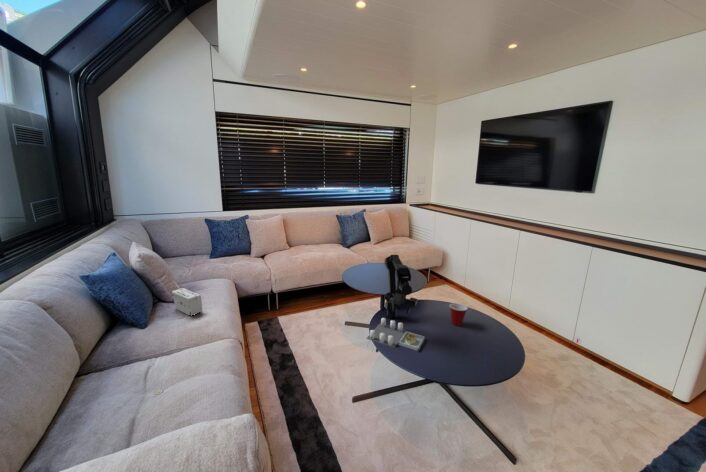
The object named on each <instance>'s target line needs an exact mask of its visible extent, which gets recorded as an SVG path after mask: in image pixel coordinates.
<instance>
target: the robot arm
mask: <svg viewBox="0 0 706 472" xmlns="http://www.w3.org/2000/svg"><path fill="white" fill-rule="evenodd" d="M384 265H385V269H386V270H387V272H388V274H387V276H388V277H387V278H388V292H386V293H385V294H384V298H383V299H384V300H385V303H384V308H385V309H386V311H387V312H386V315H385V317H384V318H386V319H387V318H388V319H389V320H396V318H398V314H397V310H399V309H400V308H401V305H402V304H405V303H407V310H406V316H407V315H408V314H409V312H410V311H411V309H412V308H414V307H416V306H417V304H418V301H419V300H418V299H417V298H415V297H410V298H407V296H409V295H411V293H412V291H413V287H412V286H411V285H410V283H409V282H411V281H412V274H411V273H412V272H411V270H410V269H409V267H408V266H407V265H405V264H403V262H402V260H401V259H400V256H399V255H398V254H391V255H388V256H387V257H385V259H384Z"/></svg>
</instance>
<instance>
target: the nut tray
mask: <svg viewBox="0 0 706 472" xmlns="http://www.w3.org/2000/svg"><path fill="white" fill-rule="evenodd" d="M408 334H414V335H416V336H417V342H416V344H413V345H410V344H409V343H407V342H406V341H407V335H408ZM424 341H425V336H423V335H421V334H417V333H415V332H414V333H413V332H410V331H407V330H406V332H405V333H404V334H403V336H402V337H401V339H400V340H399V342H398V343H397V345H398V346H401V347H404V348H406V349H410V350H413V351H416V352H419V350H420V349H421V347H422V345H423V344H424Z"/></svg>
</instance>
